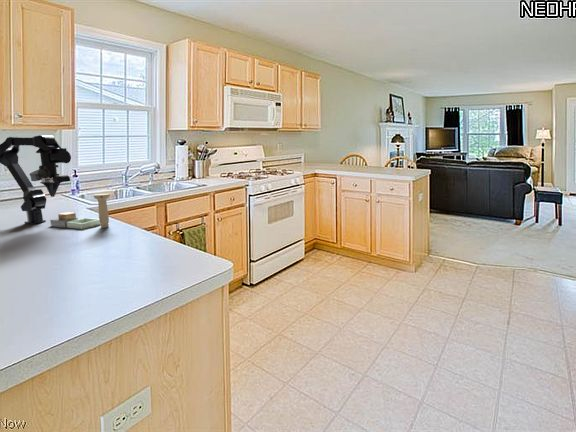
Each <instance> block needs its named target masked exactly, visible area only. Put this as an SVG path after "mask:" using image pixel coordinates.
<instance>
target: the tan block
mask: <svg viewBox="0 0 576 432" xmlns="http://www.w3.org/2000/svg"><path fill="white" fill-rule="evenodd" d="M57 216H58V217H57V218H59V219H61V220H69V219H74V218H77V216H76V212H70V211H69V212H68V211H67V212H61V213H58V215H57Z"/></svg>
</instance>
